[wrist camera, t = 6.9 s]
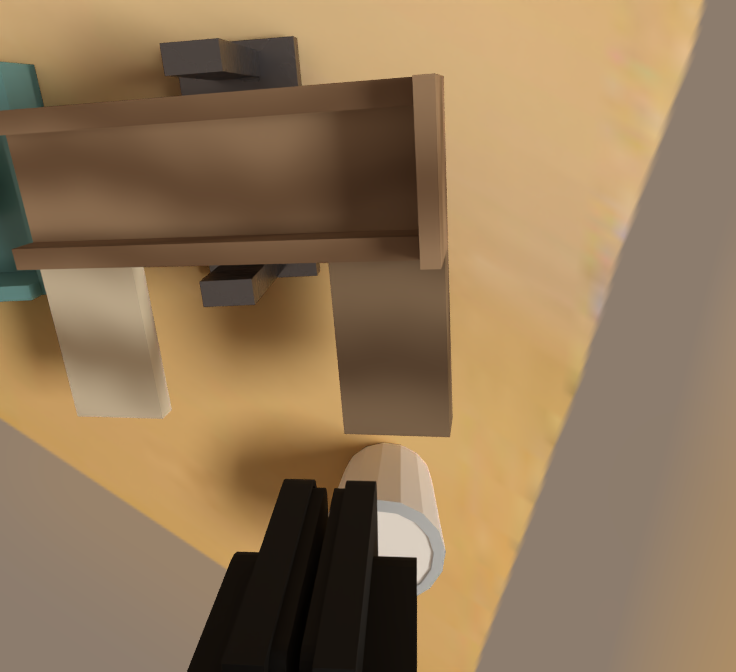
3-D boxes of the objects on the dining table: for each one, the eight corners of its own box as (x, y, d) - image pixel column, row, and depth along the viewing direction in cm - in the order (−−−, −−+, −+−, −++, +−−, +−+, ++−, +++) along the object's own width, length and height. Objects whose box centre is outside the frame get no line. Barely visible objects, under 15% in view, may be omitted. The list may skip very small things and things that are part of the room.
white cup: (322, 508, 41) (304, 585, 35) (350, 420, 39) (337, 485, 32) (421, 538, 42) (422, 619, 35) (456, 452, 39) (463, 523, 33)
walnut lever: (15, 111, 30) (-53, 113, 26) (443, 76, 26) (434, 73, 22) (88, 407, 35) (41, 444, 31) (452, 416, 31) (446, 460, 27)
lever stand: (181, 48, 32) (113, 33, 25) (297, 38, 32) (261, 20, 24) (217, 276, 36) (167, 318, 29) (319, 270, 36) (295, 313, 29)
